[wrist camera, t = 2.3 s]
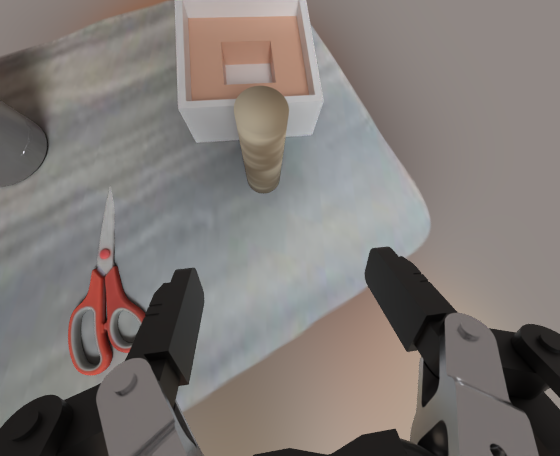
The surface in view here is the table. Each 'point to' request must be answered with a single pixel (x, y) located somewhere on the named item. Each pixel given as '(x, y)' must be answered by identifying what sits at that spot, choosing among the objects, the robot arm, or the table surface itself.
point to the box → (244, 62)
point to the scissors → (102, 303)
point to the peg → (262, 134)
